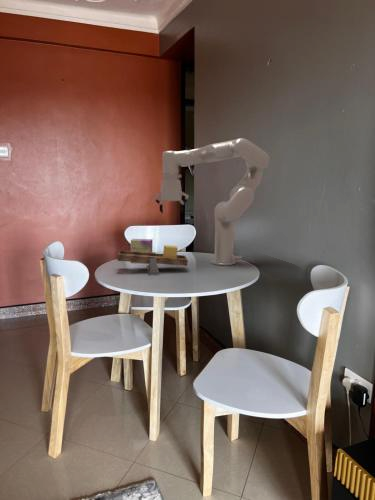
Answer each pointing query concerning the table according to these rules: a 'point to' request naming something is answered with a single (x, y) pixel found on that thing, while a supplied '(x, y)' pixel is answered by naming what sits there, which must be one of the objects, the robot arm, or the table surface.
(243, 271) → the table surface
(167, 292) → the table surface
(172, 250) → the block
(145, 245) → the box
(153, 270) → the stand
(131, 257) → the beam
